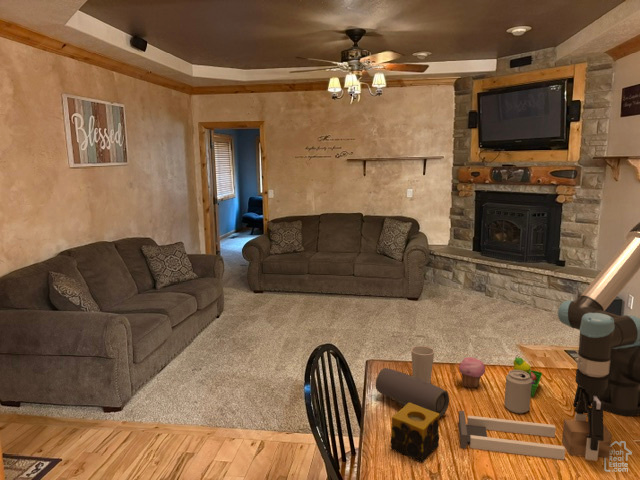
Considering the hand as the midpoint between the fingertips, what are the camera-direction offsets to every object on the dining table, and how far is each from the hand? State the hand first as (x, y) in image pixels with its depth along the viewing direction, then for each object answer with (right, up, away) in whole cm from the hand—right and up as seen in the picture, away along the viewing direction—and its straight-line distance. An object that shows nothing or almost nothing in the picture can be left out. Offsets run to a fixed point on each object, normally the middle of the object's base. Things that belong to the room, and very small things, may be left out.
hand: (584, 446), depth 132 cm
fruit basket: (-2, +5, +34) cm, 34 cm away
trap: (-28, 0, +6) cm, 29 cm away
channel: (-18, 0, +4) cm, 19 cm away
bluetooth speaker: (-43, +3, +23) cm, 49 cm away
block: (0, -1, 0) cm, 1 cm away
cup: (-36, +6, +40) cm, 54 cm away
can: (-10, +3, +22) cm, 24 cm away
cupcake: (-20, +5, +37) cm, 42 cm away
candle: (-46, -1, +2) cm, 46 cm away
